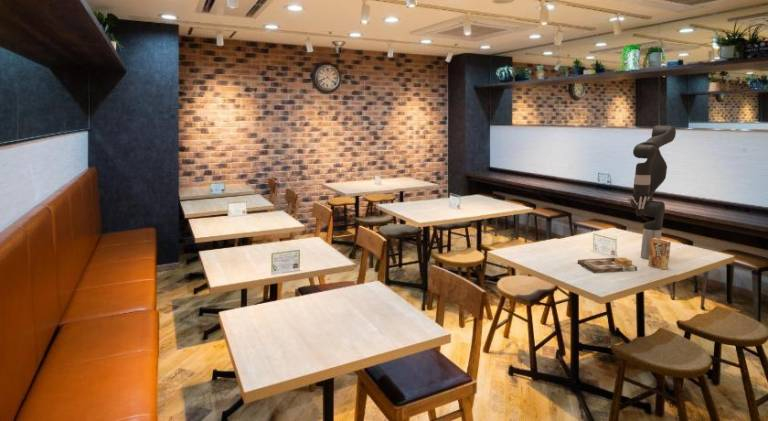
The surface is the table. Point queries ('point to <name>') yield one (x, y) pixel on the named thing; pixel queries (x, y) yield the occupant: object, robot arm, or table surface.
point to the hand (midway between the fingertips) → (638, 215)
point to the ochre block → (623, 261)
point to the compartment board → (604, 265)
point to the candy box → (659, 253)
